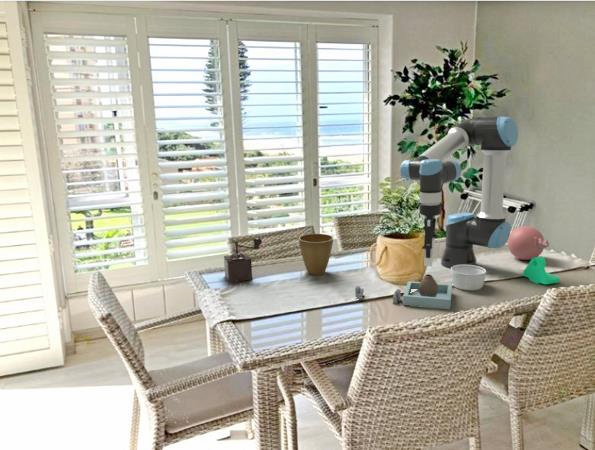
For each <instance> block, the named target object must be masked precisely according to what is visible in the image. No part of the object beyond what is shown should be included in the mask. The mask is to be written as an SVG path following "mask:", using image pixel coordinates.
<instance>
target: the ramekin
mask: <svg viewBox="0 0 595 450" xmlns="http://www.w3.org/2000/svg"><path fill="white" fill-rule="evenodd" d="M450 273H451V283H452V286H454V287H455V288H456V289H460V290H462V291H463V290H464V291H478V290H481V289H482V288H483V286H484V285H485V280H486V279H485V278H486V275H487V270H486V269H485V268H484V267H481V266H478V265H476V266H475V265H456V266H453V267H451V268H450Z"/></svg>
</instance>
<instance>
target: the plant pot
mask: <svg viewBox="0 0 595 450" xmlns="http://www.w3.org/2000/svg"><path fill="white" fill-rule="evenodd" d="M298 242H299V248H300V252H301V257H302V261H303V263H304V265H305V269H306V271H307V274H309V275H311V276H321V274H322V275H324V274H325V272H326V270H327V268H328V264H329V262H330V259H331V253H332V250H333V249H332V248H333V243H334V236H332V235H330V234H325V233H307V234H303V235H300V236H299V237H298Z"/></svg>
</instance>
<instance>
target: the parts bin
mask: <svg viewBox="0 0 595 450" xmlns="http://www.w3.org/2000/svg"><path fill="white" fill-rule="evenodd" d="M420 282H421V281H410V280H409V281H407V284H406V286H405V289H404V292H403V295H402V306H404V305H412V306H411V307H416V306H422V307H421V308H427V307H431V308H430V309H441V310H451V303H452V294H453V283H452V284H451V283H440V282H439V283H438V282H436V283H437V285H438V293H437V295H436V297H426V296H421V295H420V293H419V284H420ZM411 289H418V291H416V292H412V293H410V292H411Z"/></svg>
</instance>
